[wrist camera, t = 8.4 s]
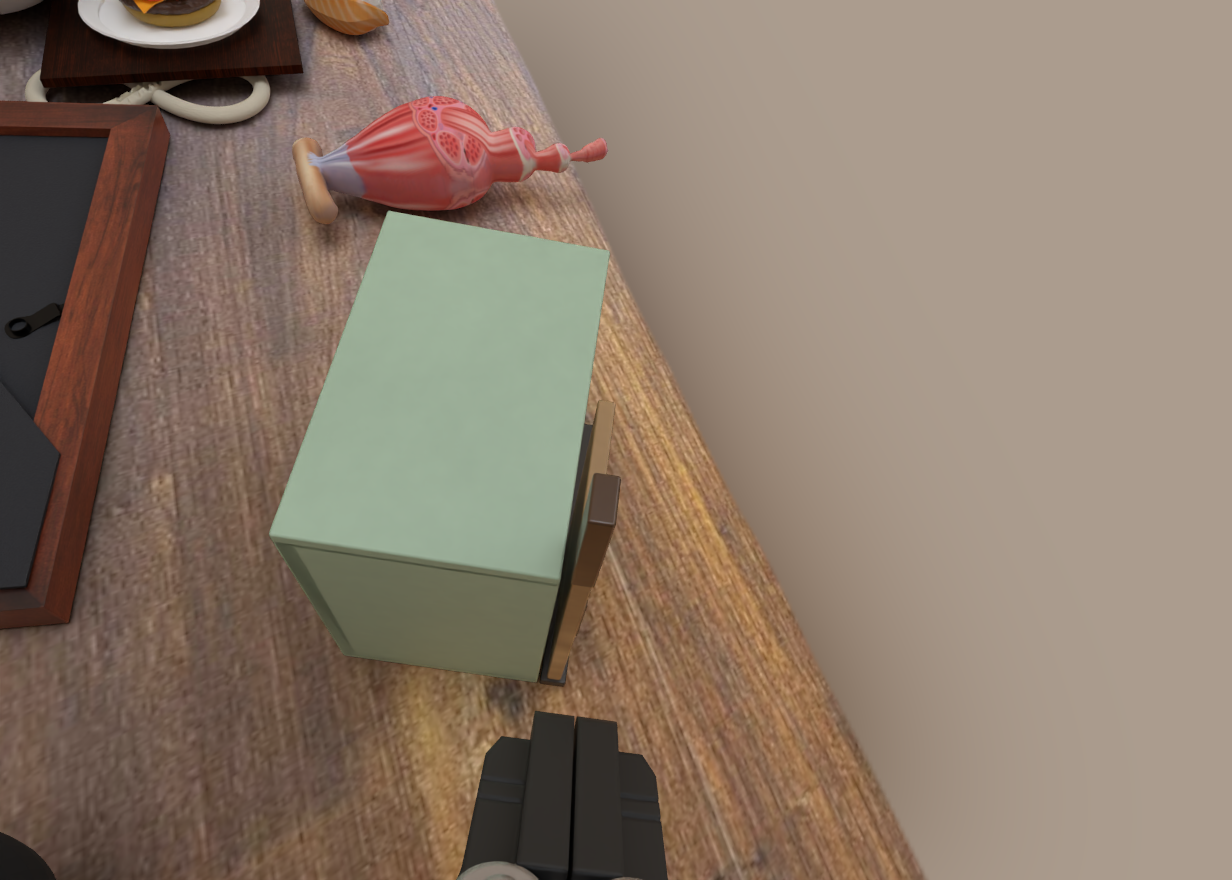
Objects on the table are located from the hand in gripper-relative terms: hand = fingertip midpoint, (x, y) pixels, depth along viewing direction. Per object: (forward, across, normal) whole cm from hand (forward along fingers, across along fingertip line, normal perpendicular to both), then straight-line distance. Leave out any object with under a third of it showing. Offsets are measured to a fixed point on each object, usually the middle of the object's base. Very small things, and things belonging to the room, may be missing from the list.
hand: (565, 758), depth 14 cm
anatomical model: (+30, +9, -14) cm, 34 cm away
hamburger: (+36, +26, -16) cm, 47 cm away
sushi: (+38, +17, -21) cm, 47 cm away
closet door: (+14, 0, +4) cm, 15 cm away
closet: (+17, +4, +3) cm, 18 cm away
